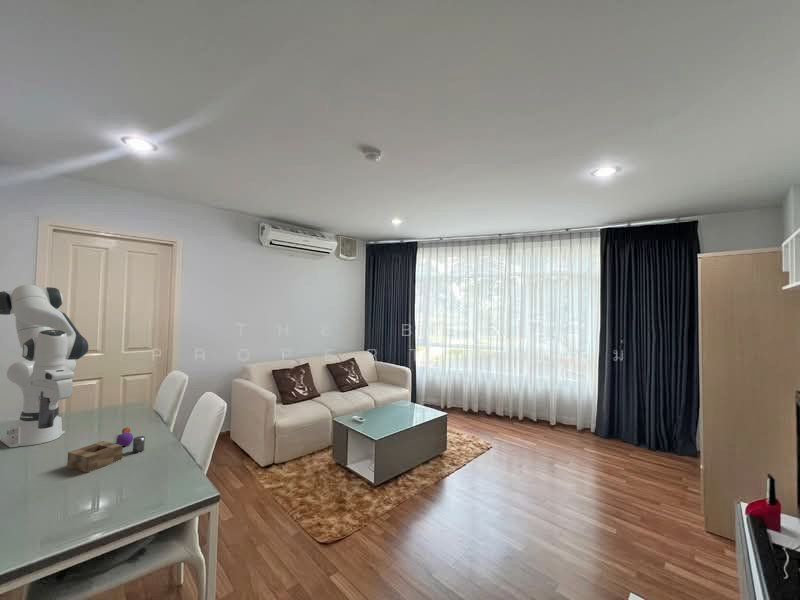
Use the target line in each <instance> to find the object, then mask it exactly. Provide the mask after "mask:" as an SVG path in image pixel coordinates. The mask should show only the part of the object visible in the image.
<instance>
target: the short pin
mask: <svg viewBox="0 0 800 600" xmlns="http://www.w3.org/2000/svg"><path fill="white" fill-rule="evenodd" d="M145 438H146V437H145V436H143V435H141V436H135V437H133V440H132V453H133V454H139V453H138V452H140V453H143V452H144V451H145V440H146V439H145ZM142 451H143V452H142Z"/></svg>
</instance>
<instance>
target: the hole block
mask: <svg viewBox="0 0 800 600" xmlns="http://www.w3.org/2000/svg"><path fill="white" fill-rule="evenodd" d="M123 448H124V447H123V445H119V444H117V443H114V442H109V441H104V440H102V441H99V442H96V443H92V444H90V445H87V446H83V447H80V448H77V449H74V450H72V451H68V452H67V464H66V468H67V469H71V470H74V469H76V470H75V471H78V470H80V471H79V472H82V471H83V473H86V472H89V473H91V472H90V471H92V472H93V470H94V471H96V470H95V469H97V470H99V469H102V468H104V467H107V466H109V465H108V464H110V465H112V464H115V463H117V462H119V461H118V460H120V461H122V460H121V459H123ZM116 461H117V462H116ZM114 462H115V463H114ZM111 463H112V464H111ZM106 465H107V466H106ZM103 466H104V467H103ZM101 467H102V468H101ZM98 468H99V469H98Z"/></svg>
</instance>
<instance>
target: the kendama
mask: <svg viewBox="0 0 800 600" xmlns="http://www.w3.org/2000/svg"><path fill="white" fill-rule="evenodd" d="M133 439H134V436H133V434H132V433H131V428H130V427H128V426H127V427H124V428H123V429H122V430H121V434H119V436H117V437H116V441H115V442H116V443H115V444H119V445H123V446H124V447H128V446H130V445H131V444H132V443H133Z"/></svg>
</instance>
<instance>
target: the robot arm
mask: <svg viewBox="0 0 800 600" xmlns="http://www.w3.org/2000/svg"><path fill="white" fill-rule="evenodd" d="M63 302H64V295H63V293H62V292H61V291H60V290H59V289H58V288H57V287H52V286H51V287H40V286H37V285H34V284H22V285H19V286H16V287H15V288H14V289H13V290H9V291H5V290H1V291H0V315H1V316H2V315H3V316H4V315H5V316H7V315H9V316H10V315H14V317H15V328H16V333H17V338H18V342H19V345H20V348H21V349H22V358H23V359H24V360H20V361H17V362H14V363H12V364H10V366H9V367H8V368H7V370H6V376H7V379H8V380H9V381H10V382H11V383H12V384H15V385H17V386H18V387H19V389H20V390H21V391H22V395H23V396H22V397H23V408H22V410H23V411H21V412H20V417H19V420H18V421H17V422H15V423H13V424H12V425H11V426H10V427H9V429H7V430H6V436H4V437H1V438H0V442H1V443H3V444H4V445H6V446H7V447H8V448H17V447H25V446H32V445H33V446H34V445H40V444H44V443H48V442H51V441H55V440H57V439H58V438H60V437H61V436H62V435H64V434H65V430H62V429H63V427H62V426H63V424H62V417H61V416H59V414H60V407H59V401H61V400H66V399H69V398H70V397H72V396H71V395H72V394H73V378H74V377H75V372H74V370H75V369H76V366H77V363H76V360H80V359H81V358H82V357H84V356H85V355H87V353H88V352H89V343H88V341H87V339H86V338H85V337H84V336H83V335H81V333H80V332H79V330H78V329H77V328H76V326H75V324H74V323H73V322H72V320H71V318H69V317H68V315H67V314H66V313H65V312H63V311H60V310H59V308H60V307H61V306H62V305H63ZM41 391H43V397H45V398H50V400H49V401H50V404H49V405H48V406H47V407H48V408H47V409H49V410H52V409H54V422H53V426H52V427H49V428H44V429H38V420H39V407H40V395H41Z"/></svg>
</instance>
